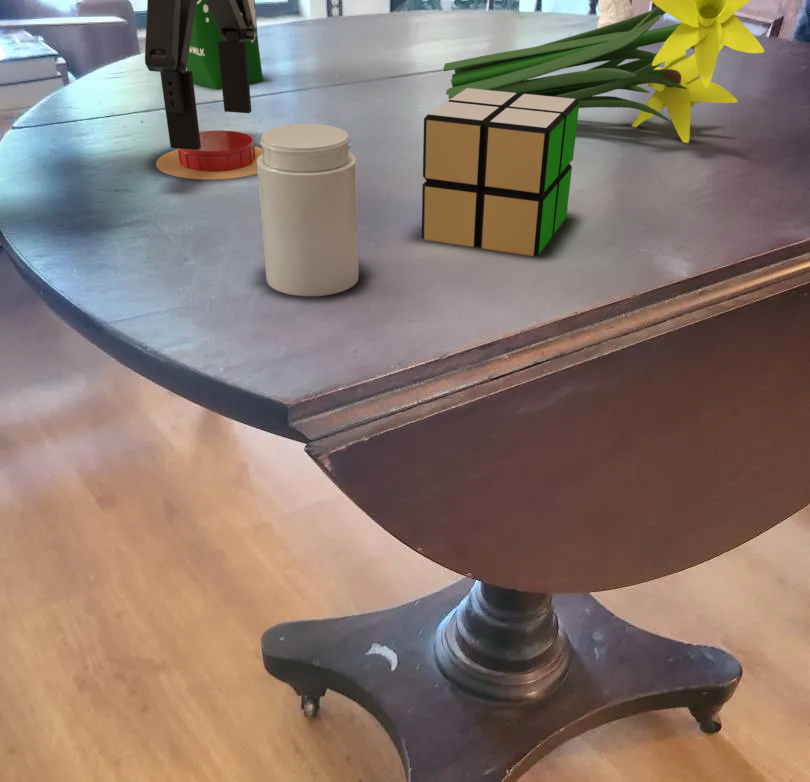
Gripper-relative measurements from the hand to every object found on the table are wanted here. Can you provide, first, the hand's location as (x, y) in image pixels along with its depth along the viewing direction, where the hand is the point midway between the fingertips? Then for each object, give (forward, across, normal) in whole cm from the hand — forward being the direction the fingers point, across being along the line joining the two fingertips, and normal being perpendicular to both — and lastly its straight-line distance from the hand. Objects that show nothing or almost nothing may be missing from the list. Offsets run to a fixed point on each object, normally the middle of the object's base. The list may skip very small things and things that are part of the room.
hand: (213, 129), depth 92 cm
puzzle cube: (+4, +12, +30) cm, 32 cm away
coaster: (+3, 0, 0) cm, 3 cm away
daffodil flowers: (+4, -20, +35) cm, 40 cm away
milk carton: (+4, -33, -12) cm, 35 cm away
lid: (+2, 0, 0) cm, 2 cm away
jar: (+3, +26, +18) cm, 32 cm away
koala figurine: (+4, -71, +35) cm, 79 cm away
